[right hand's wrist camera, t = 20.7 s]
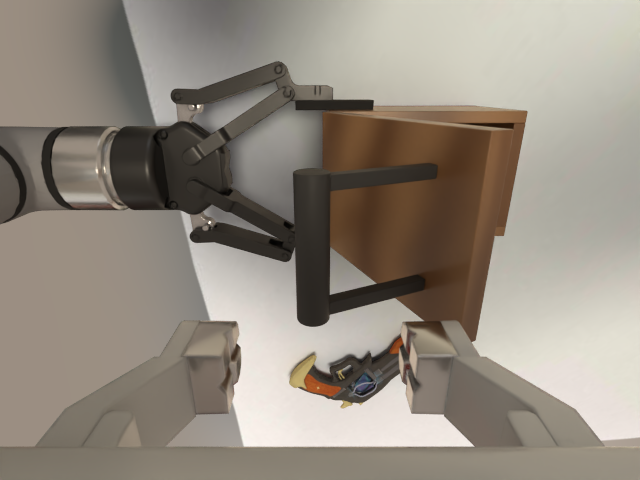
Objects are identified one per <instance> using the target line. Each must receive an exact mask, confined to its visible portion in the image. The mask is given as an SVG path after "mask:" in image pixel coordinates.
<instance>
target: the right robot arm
mask: <svg viewBox="0 0 640 480" xmlns="http://www.w3.org/2000/svg"><path fill="white" fill-rule="evenodd" d="M238 337H239V328H238V323H237V322H236V321H200V320H195V321H194V320H193V321H182V322H181V323H180V324H179V326H178V327H177V329H176V331H175V332H174V334H173V336H172V337H171V339H170V340H169V342H168V344H167V345H166V347H165V349H164V350H163V352H162V354H161V355H160V357H153V358H151V359H150V360H148V361H146V362H144V363H143V364H141V365H139V366H138V367H136V368H134V369H132V370H131V371H129V372H127V373H126V374H124V375H122V376H120V377H119V378H117V379H115V380H114V381H112V382H110V383H109V384H107V385H105V386H103V387H102V388H100V389H98V390H97V391H95V392H93V393H91V394H90V395H88V396H86V397H85V398H83V399H81V400H79V401H78V402H76V403H74V404H73V405H71V406H69V407H67V408H66V409H65V410H64V411H63V412H62V414H61V415H60V416H59V417H58V418H57V420H56V421H55V422H54V423H53V425H52V426H51V427H50V428H49V430H48V431H47V432H46V433H45V434H44V436H43V437H42V438H41V439H40V441H39V442H38V443H37V444H36V446H35V447H0V480H640V447H605V446H604V444H603V443H602V442H601V441H600V439H599V438H598V437H597V436H596V434H595V433H594V432H593V431H592V429H591V428H590V427H589V426H588V424H587V423H586V422H585V421H584V419H583V418H582V417H581V416H580V414H579V413H578V412H577V411H576V409H574V408H572V407H571V406H569V405H567V404H565V403H564V402H562V401H560V400H559V399H557V398H555V397H554V396H552V395H550V394H548V393H547V392H545V391H543V390H542V389H540V388H538V387H536V386H535V385H533V384H531V383H530V382H528V381H526V380H525V379H523V378H521V377H519V376H518V375H516V374H514V373H513V372H511V371H509V370H507V369H506V368H504V367H502V366H501V365H499V364H497V363H496V362H494V361H492V360H490V359H489V358H487V357H480V355H479V354H478V352H477V350H476V349H475V347H474V346H473V344H472V342H471V341H470V339H469V337H468V336H467V334H466V333H465V331H464V329H463V328H462V326H461V324H460V323H459V322H458V321H456V320H449V321H419V322H403V323H402V327H401V337H402V340H403V344H402V345H401V346H400V348H399V369H400V375H401V379H402V382H403V383H404V384H406V385H407V386H406V397H407V400H408V403H409V407H410V410H411V414H444V416H445V417H446V418H447V419H448V420H449V421H450V422H451V423H452V424H453V425H454V426H455V427H456V428H457V429H458V430H459V431H460V432H461V433H462V434H463V435H464V436H465V437H466V438H467V439H468V440H469V441H470V442H471V443H472V444H473V445H474V446H475V447H165V446H166V445H167V444H168V443H169V442H170V441H171V440H172V439H173V438H174V437H175V436H176V435H177V434H178V433H179V432H180V431H181V430H182V429H183V428H184V427H185V426H186V425H187V424H188V423H190V422H191V421H192V420H193V419H194V417H196V414H228V413H229V410H230V407H231V404H232V400H233V397H234V386H233V385H234V384H236V383H237V382H238V379H239V375H240V368H241V348H240V346H239V345H238V344H237V340H238Z"/></svg>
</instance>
